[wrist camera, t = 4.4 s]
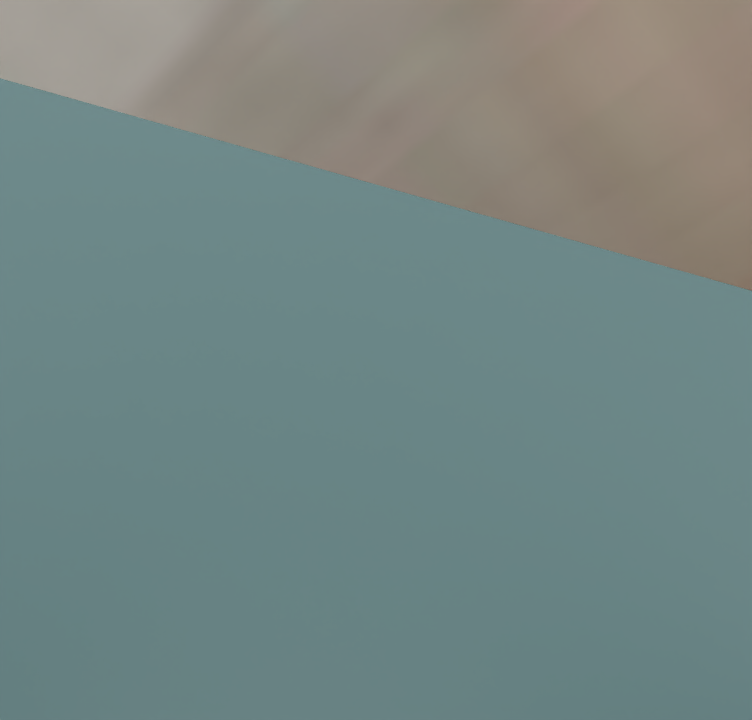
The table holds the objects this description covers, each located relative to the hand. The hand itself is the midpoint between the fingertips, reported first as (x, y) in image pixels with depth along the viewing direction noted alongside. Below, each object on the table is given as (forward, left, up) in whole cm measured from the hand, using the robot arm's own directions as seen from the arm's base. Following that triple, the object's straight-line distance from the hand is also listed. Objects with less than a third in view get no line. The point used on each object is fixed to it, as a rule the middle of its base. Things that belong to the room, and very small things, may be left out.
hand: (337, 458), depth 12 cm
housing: (0, 0, 0) cm, 0 cm away
